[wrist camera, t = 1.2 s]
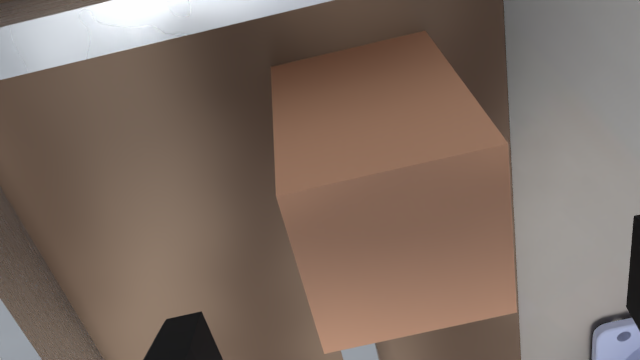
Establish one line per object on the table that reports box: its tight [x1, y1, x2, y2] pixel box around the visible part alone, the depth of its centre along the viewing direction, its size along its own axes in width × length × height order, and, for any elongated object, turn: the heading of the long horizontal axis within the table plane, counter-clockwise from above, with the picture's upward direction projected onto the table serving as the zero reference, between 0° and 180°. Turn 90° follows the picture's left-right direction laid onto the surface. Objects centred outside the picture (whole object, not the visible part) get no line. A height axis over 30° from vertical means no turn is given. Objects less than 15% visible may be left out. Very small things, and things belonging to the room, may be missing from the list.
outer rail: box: [0, 0, 333, 360], centre depth 19 cm, size 14×22×2 cm, turn 12°
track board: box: [0, 0, 521, 360], centre depth 20 cm, size 16×26×1 cm, turn 12°
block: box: [271, 31, 517, 354], centre depth 14 cm, size 4×4×6 cm
